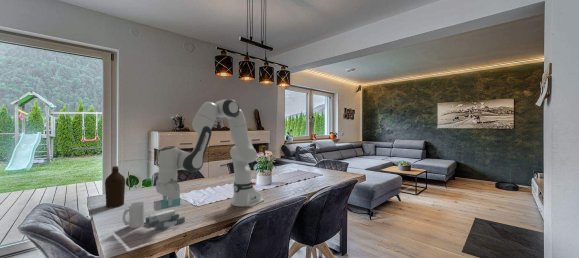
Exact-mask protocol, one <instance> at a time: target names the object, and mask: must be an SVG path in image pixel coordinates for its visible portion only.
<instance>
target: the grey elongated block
mask: <svg viewBox="0 0 579 258" xmlns="http://www.w3.org/2000/svg"><path fill="white" fill-rule="evenodd" d="M174 214H176V210H174V209H169V210H165V211H160V212H158V213H152V214H149V215H148V217H149V223H150V221H152V220H155V219H159V222H162V221H166V220H170V219H171V215H174Z"/></svg>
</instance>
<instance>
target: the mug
mask: <svg viewBox="0 0 579 258" xmlns="http://www.w3.org/2000/svg"><path fill="white" fill-rule="evenodd" d="M127 213H128V221H127V220H126V215H127ZM122 221H123V224H124V225H125V226H129V227H128V228H131V229H136V228H140V227H143V226H144V225H145V201H135V202H132V203H129V204H128V208H125V209H124V211H123V213H122Z"/></svg>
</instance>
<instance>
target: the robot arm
mask: <svg viewBox="0 0 579 258" xmlns="http://www.w3.org/2000/svg"><path fill="white" fill-rule="evenodd" d="M244 114H245V113H244V112H243V110H242V109H240V105H239V103H238V102H237V101H236V100H235V99H231V98H228V99H221V100H218V101H214V102H212V101H205V102H204V103H202V105H201V106H200V107H199V109H198V111H197V112H196V114H195V115H194V118H193V119H192V124H191V125H192V127H191V128H192V129H193V131H194V132H195V133H196V134H197V140H196V143H195V146H194V148H193V150H192V151H191V152H189V151H186V150H185V151H184V150H182V149H180V148H178V147H177V146H175V145H169V146H168V145H167V146H165V147H162V148H161V149H160V151H159V154H158V167H159V169H158V174H156V175H155V176H154V180H155V189H156V192H157V193H158V194H160V195H161V196H162V200H164V199H168V202H167V205H168V206H171V205H172V201H173V200H174V199H179V197H180V198H181V189H180V188H181V187H180V184H179V183H178V182H177V181H178V170H184V171H187V172H189V173H197V172H198V171H200V170H201V169H202V168H203V165H204V164H205V163H204V162H205V155H206V152H207V149H208V147H209V146H208V145H209V144H210V140H211V137H212V129H213V126H214V124H215V122H216V119H219V118H220V119H223V118H224V119H225V118H226V119H227V121H228V127H229V132H230V137H231V140H232V141H233V143H234V146H232V147H231V148H230V151H229V156H230V157H231V159H232V165H233V171H234V177H233V180H234V182H233V194H232V195H233V196H232V201H231V205H232V206H234V207H254V206H255V205H257V204H259V203H262V202H264V201H265V199H264V198H263V197H261V196H262V195H261V192H260V191H259V190H258V189H256V188H255V187H254V186H256V184H257V183H256V182H255V181H252V170H251V168H250V165H249V164H250V163H251V164H253V162H255V161H256V160H257V158H258V153H257V151H256V148H254V145H253V143H252V140H251V138H250V136H249V132H248V127H247V122H246V121H247V120H246V117H245V115H244Z"/></svg>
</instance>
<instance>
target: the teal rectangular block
mask: <svg viewBox="0 0 579 258" xmlns="http://www.w3.org/2000/svg"><path fill="white" fill-rule="evenodd" d="M167 202H168V198H167V199H164V200H163V199H160V200H159V199H158V200H154V201H153V210H154V211H155V212H158V211H162V210H166V209H169V208H176V207H179V206H181V196H180V197H179V199H174V200H173V201H172V205H171V206H168V205H167Z"/></svg>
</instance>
